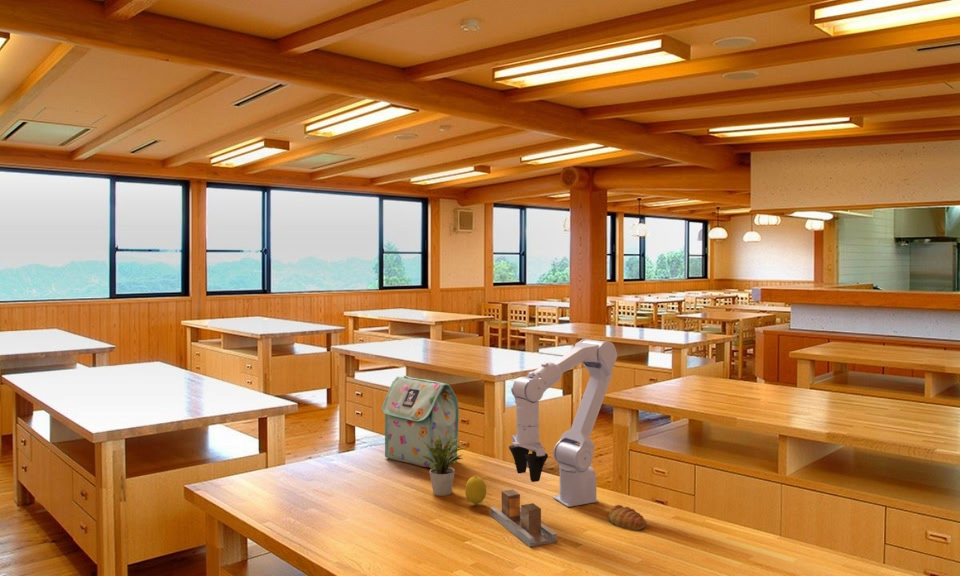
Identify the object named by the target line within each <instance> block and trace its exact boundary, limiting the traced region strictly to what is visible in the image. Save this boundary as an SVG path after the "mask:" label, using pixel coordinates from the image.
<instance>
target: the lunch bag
mask: <svg viewBox="0 0 960 576" xmlns="http://www.w3.org/2000/svg"><path fill="white" fill-rule="evenodd" d="M457 398H458V397H457V396H456V393H455V392H454V389H452V386H451V385H450V384H448V383H444V382H439V381H434V380H431V379H425V378H422V379H421V378H417V377H416V378H415V377H410V376H407V375H404V376H396V377H395V378H394V380H392V382H391V384H390V386H389V389H388V391H387V393H386V396H385V398H384V401H383V404H382V406H381V410H382V412H383V414H384V457H385V459H386V458H387V459H391V460H394V461H398V462H404V463H407V464H411V465H416V466H419V467H424V468H430V466H431V461H430V460H428V459H425V458H421V456H427V457H429V458H431V459H432V460H433V461H434V462H435V463H436V461H435V459H434V457H433V456H432V455H433V454H432V452H431V451H430V450H429V448H428V447H427V445H426V444H425V443H427V444H428V445H429V446H430V447H433V448H435V444H434V443H435V437H437V439H438V441H439V436H440V439H441V442H442V449H444V446H445V444H446V443H447V441H448V439H449V438H450V436H451V435H452V437H451V440H450V443H451V442H452V441H453V440H454V439H456V438H457V440H456V441H455V442H454V445H453V447H452V448H451V450H452V449H453V448H454V446H457V445H458V440H459V439H458V436H459V417H460V413H459V411H460V410H459V408H460V407H459V402H458V401H459V400H458V399H457ZM424 442H425V443H424ZM450 443H449V444H450ZM426 448H427V449H428V450H429V451H430V452H431V453H430V452H429V451H428V450H427V449H426ZM456 448H457V447H456ZM456 448H455V449H456ZM455 449H454V450H455ZM457 449H458V448H457ZM451 450H450V451H451ZM453 455H458V451H456V452H454V453H453V454H452V455H450V456H453ZM450 456H449V457H450ZM457 457H458V456H455V457H453V458H452V459H451V460H453V459H454V458H457ZM448 459H449V458H448ZM451 460H450V461H451ZM450 461H449V462H450ZM456 461H457V462H458V460H456ZM433 468H435V465H434V467H432V468H431V469H433Z"/></svg>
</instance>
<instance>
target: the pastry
mask: <svg viewBox="0 0 960 576" xmlns="http://www.w3.org/2000/svg"><path fill="white" fill-rule="evenodd" d="M607 515H608V520H609V521H610V522H611V524H614V525H615V526H617V527H620V526H621V528H623V527H624V528H623V529H627V528H629V529H628V530H631V529H633V530H635V529H636V530H635V531H639V530H642V529H645V528H646V525H647V521H646V519H645V518H644V516H643V515H641V514H640V512H637V511H636V510H635V509H634V508H631V507H629V506H623V505H619V504H616V505H614V506H613V507H612V508H611V509H610V510H609V513H608V514H607Z"/></svg>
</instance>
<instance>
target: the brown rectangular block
mask: <svg viewBox="0 0 960 576" xmlns="http://www.w3.org/2000/svg"><path fill="white" fill-rule="evenodd" d="M520 507H521V494H520V493H519V492H518V491H516V490H515V489H506V490H501V510H502V513H503V514H504V515H506V516H507V517H508V518H510V519H517V518H520Z"/></svg>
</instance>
